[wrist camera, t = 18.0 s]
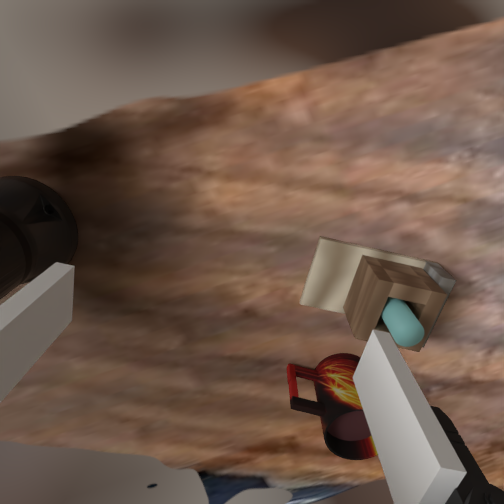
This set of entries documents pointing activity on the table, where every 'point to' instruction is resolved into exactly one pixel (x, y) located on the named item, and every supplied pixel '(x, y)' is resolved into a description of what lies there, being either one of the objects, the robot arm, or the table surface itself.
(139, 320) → the table surface
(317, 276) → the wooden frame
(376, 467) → the table surface
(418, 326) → the dowel
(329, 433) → the mug
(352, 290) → the block
